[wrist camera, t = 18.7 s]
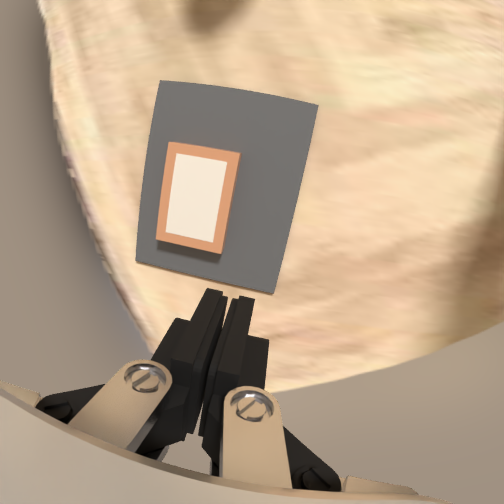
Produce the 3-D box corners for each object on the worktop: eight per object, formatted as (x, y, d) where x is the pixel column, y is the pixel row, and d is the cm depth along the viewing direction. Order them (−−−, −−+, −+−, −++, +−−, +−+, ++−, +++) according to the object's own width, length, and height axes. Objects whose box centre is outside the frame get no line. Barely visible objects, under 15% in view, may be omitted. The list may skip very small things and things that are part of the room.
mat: (161, 80, 28) (160, 80, 28) (318, 105, 28) (318, 105, 27) (136, 259, 35) (135, 260, 35) (273, 291, 35) (273, 293, 34)
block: (242, 152, 30) (174, 141, 30) (239, 153, 28) (168, 141, 28) (224, 248, 33) (161, 234, 33) (221, 254, 32) (155, 239, 32)
